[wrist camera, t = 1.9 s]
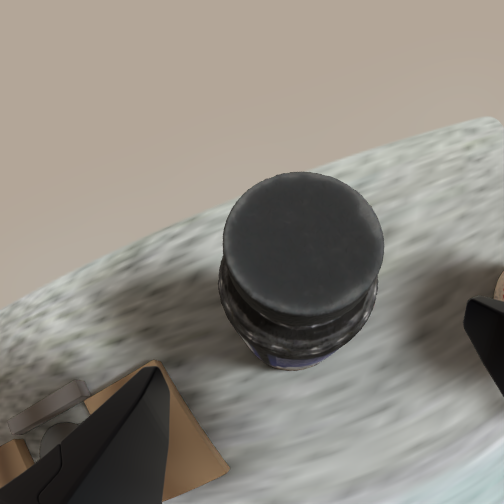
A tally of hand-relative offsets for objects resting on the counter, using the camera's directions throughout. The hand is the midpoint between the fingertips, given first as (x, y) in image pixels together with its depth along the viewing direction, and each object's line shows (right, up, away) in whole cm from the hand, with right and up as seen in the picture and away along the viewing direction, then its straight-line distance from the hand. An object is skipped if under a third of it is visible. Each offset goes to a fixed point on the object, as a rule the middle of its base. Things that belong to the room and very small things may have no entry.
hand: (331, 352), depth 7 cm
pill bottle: (0, -2, +11) cm, 11 cm away
